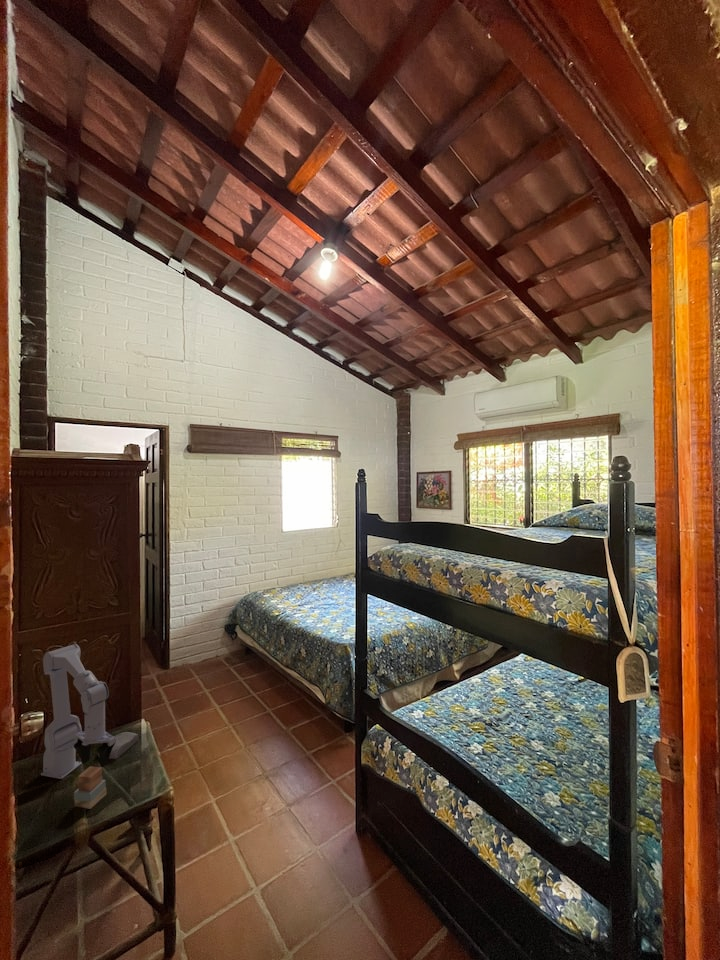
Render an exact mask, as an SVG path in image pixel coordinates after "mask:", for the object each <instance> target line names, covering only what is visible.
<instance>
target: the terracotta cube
mask: <svg viewBox="0 0 720 960" xmlns="http://www.w3.org/2000/svg"><path fill="white" fill-rule="evenodd" d="M77 777H78V788H79V790H80V791H89V792H91V791H92V790H93V789H94V788H95V787H96V786H97V785H99V784H100V783H101V782H102V780H103V767H101V766H88V768H86V769H85V770H84V771H82V772H81V774H79V775H78V776H77Z"/></svg>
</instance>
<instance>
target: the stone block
mask: <svg viewBox="0 0 720 960" xmlns="http://www.w3.org/2000/svg"><path fill="white" fill-rule="evenodd" d="M114 737H115V740H116V743H115V745H114V746H113V748H112V751H111V753H110V756H109V760H117V759H119V758H120V757H121V756H122V755H124V754H125V753H127V752H128V750H129V749H131V748H132V747H133V746H134V745H135V744H136V743H137V742H138V740H139V734H137V733H135V732H131V731H130V732H129V731H125V732H121V733H118V734H115V736H114ZM97 755H98V756H99V753H98V752H97Z"/></svg>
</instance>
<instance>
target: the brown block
mask: <svg viewBox="0 0 720 960" xmlns="http://www.w3.org/2000/svg"><path fill="white" fill-rule="evenodd" d="M106 795H107V787H106V788H105V789H104V790H103V791H101V792H100V793H99V794H98V795H97V796H96V797H95V798H94V799H93V800H92V801H91V802H87V801H78V800H74V807H78V808H84V809H89V810H91V809H92V808H93V807H94V806H96V805H97V804H98V803H99V802H100V801H101V800H102V799H103V798H104V797H106Z"/></svg>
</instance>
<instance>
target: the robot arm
mask: <svg viewBox="0 0 720 960" xmlns="http://www.w3.org/2000/svg"><path fill="white" fill-rule="evenodd" d="M81 653H82V652H81V647H80V646H79V645H78V644H77V643H73V644H71V645H68V646H67V645H66V646H64V647H61V648H57V649H54V650H51V651H47V652H45V654H44V655H43V658H42V665H43V672H44V675H49V679H50V691H51V698H52V699H51V700H52V701H51V703H52V712H53V720H52V722H50V723H49V725H47V727H46V728H45V731H44V740H43V741H44V747H45V751H44V753H43V757H42V758H43V762H42V763H43V766H42V769H43V772H41V773H40V775H41V776H43V777H49V778H54V779H59V780H61V779H64V778H65V777H66V776H68V775H69V774H71V772H73V771H75V769H78V767H80V766H82V765H85V764H86V763H87V762H89V761H90V759H91V748H92V745H93V744H94V745H95V744H102V745H100V746H99V747H97V748H96V751H97V754H98V753H99V755H98V758H99V765H100V767H102V768H104V767H106V766H107V764H108V763H109V760H110V759H109V756H110V753H111V751H112V748H113V746H114V745H115V743H116V740H115V736H114V735H112V734H110V733H109V732H107V731H106V700H107V699H108V698H109V695H110V691H109V687H108V685H107V683H106V682H105V681H102V680H100V681H99V680H98V679H97V677H96V676H95V674H94V673H93V672H92V671H91V670H89V669H87V670H86V669H85V667H84V665H83V663H82V661H81ZM67 672H68V673H69V674H70V676H72V678H73V682H72V684H73V686H74V687H75V688H76V690H77V691H78V693H79V694H80V695H81V696H80V703H81V705H82V712H83V713H84V731H83V729H82V725H81V722H80V718H79V716H78V715H74V714H71V704H70V694H69V685H68V673H67ZM76 752H77V753H78V756H79V759H80V761H76Z"/></svg>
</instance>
